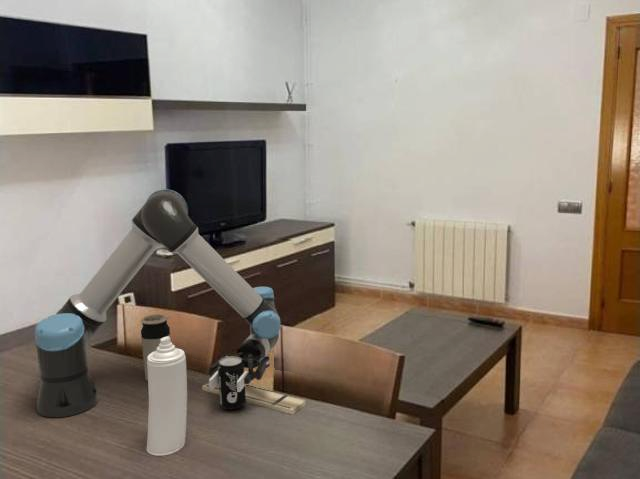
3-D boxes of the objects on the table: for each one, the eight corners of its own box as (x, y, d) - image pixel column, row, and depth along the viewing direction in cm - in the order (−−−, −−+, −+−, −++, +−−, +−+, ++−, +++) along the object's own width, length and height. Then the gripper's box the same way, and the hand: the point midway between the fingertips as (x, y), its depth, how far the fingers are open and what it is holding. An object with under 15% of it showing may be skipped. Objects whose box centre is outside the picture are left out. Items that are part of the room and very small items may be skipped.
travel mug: (139, 378, 179) (134, 319, 175) (162, 369, 185) (157, 312, 181) (156, 385, 174) (150, 325, 170) (179, 376, 180) (174, 317, 176)
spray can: (143, 434, 147) (134, 335, 142) (188, 425, 151) (180, 328, 146) (148, 459, 136) (138, 352, 131) (196, 448, 140) (188, 344, 135)
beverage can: (251, 403, 160) (248, 359, 157) (231, 412, 155) (228, 367, 152) (235, 396, 164) (232, 353, 162) (215, 405, 159) (212, 361, 157)
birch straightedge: (292, 414, 155) (292, 409, 154) (202, 390, 170) (202, 385, 170) (305, 404, 160) (305, 400, 159) (216, 381, 175) (216, 377, 175)
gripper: (286, 365, 174) (262, 402, 152) (221, 361, 178) (188, 397, 156) (285, 340, 172) (261, 374, 150) (219, 337, 176) (186, 369, 154)
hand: (224, 385), depth 153 cm, fingers closed on beverage can, 6 cm apart
